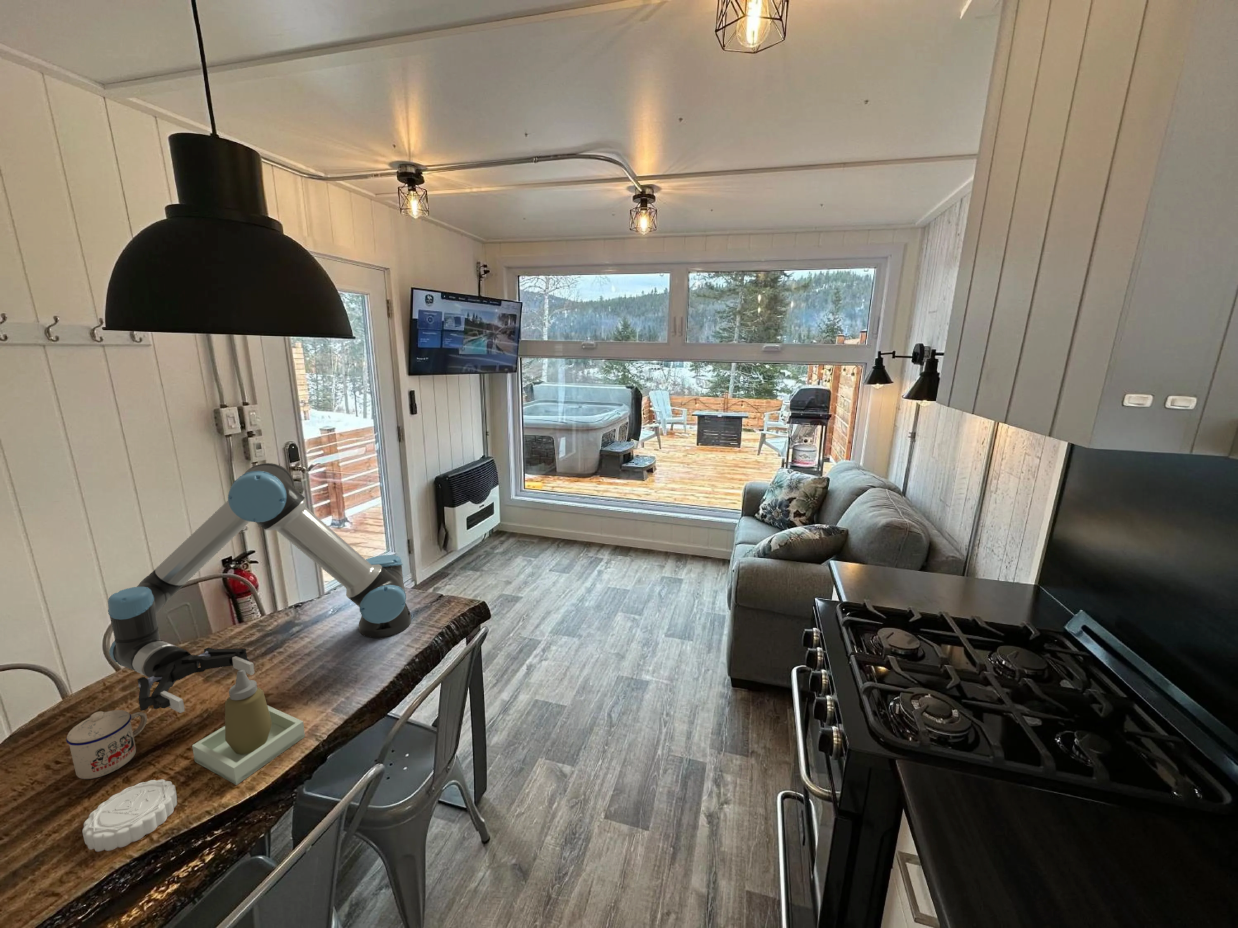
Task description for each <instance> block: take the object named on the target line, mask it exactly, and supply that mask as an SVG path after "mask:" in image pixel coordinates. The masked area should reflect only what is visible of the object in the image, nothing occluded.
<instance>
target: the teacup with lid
mask: <svg viewBox="0 0 1238 928" xmlns="http://www.w3.org/2000/svg"><path fill="white" fill-rule="evenodd" d="M137 717H140V722H139V724H138V726H137V728H136V729H135V730H133V727H132V723H131V721H133V719H135V718H137ZM147 721H148V716H147V714H146V713H145V712H142V711H137V712H133V713H132V714H130V713H129V711H127V710H123V709H116V710H115V709H114V710H108V711H99V710H98V711H96V712H94V713H92V714H91V715H90V716H89V717H88V718H86V719H85V720H82V721H81V722H79V723H78V724H76V725H75V726H73V727H72V729H70V730H69V732H68V733H67V736H66V743H67V744H68V746H69V750H70V753H71V758H72V759H71V760H72V762H73V768H74V771H75V775H76V777H77V778H79V779H82V780H92V779H97V778H100V777H103V776H106V775H109V774H111V773H113V772H115V771H117V770H119V769H120V768H122V767H124V766H125V765H126V764H128V763H129V762H131V760H132V759H133V758H134V756H135V754H136V752H137V747H136V742H135V737H136V736H138V735H139V734H140V733H141V732H143V731H144V729H145V726H146V725H147Z"/></svg>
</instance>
